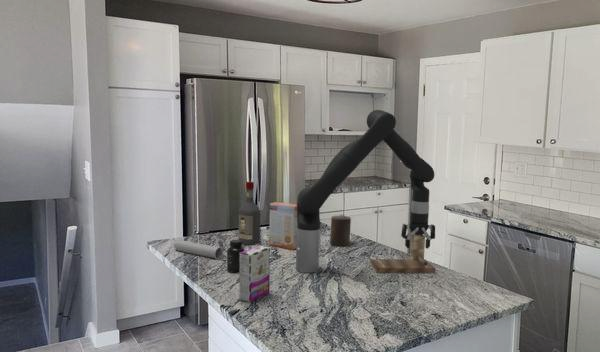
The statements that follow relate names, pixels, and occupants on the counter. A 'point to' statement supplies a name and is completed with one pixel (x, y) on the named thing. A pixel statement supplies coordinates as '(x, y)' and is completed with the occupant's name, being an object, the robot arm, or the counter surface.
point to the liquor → (249, 218)
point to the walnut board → (401, 266)
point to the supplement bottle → (234, 256)
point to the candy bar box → (254, 273)
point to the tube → (199, 249)
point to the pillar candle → (340, 231)
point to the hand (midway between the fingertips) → (417, 247)
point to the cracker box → (283, 225)
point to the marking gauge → (418, 248)
